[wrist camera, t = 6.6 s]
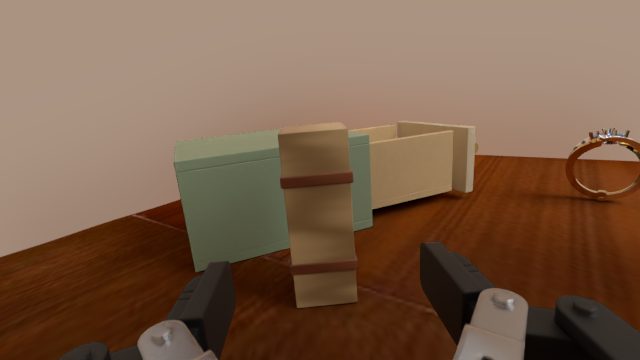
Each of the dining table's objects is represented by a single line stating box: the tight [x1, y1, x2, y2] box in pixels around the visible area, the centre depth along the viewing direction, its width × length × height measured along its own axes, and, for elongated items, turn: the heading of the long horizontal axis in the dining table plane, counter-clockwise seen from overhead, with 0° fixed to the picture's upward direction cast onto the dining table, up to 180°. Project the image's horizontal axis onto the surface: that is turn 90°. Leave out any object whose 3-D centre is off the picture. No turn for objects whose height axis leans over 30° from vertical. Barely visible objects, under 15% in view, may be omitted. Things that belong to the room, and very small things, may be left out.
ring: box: [566, 128, 640, 201], centre depth 35 cm, size 7×3×8 cm, turn 49°
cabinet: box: [174, 129, 373, 272], centre depth 37 cm, size 18×15×10 cm
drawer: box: [348, 121, 478, 209], centre depth 43 cm, size 21×14×8 cm, turn 113°
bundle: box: [278, 122, 358, 308], centre depth 23 cm, size 4×4×12 cm
